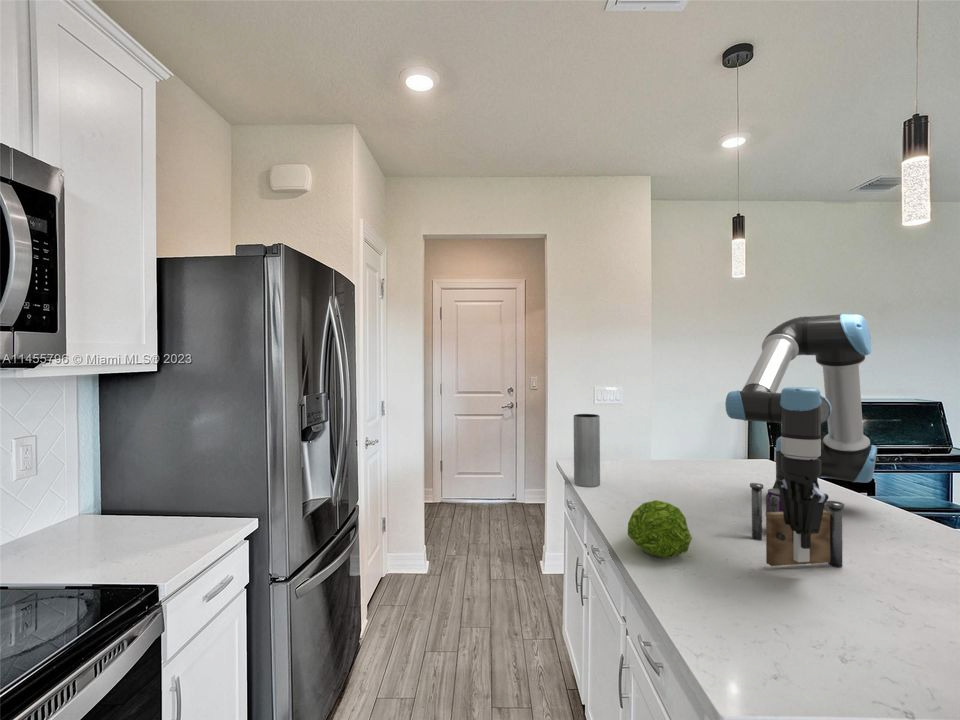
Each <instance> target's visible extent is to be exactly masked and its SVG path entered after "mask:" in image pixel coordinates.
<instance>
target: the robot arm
mask: <svg viewBox="0 0 960 720" xmlns="http://www.w3.org/2000/svg"><path fill="white" fill-rule="evenodd" d="M871 338H872V337H871V333H870V329H869V325H868V322H867V320H866V318H865V317H864V316H862V315H860V314H846V313H841V314H828V315H826V314H825V315H813V316H798V317H794V318H791V319H789V320H786V321H785V322H782V323H781V324H779V325H778V326H776V327H775V328H773V329H772V330H771V331H769V333H768V334H767V335H766V336H765V337H764V339H763V341H762V343H761V352H760V353H761V354H760V355H759V357H758V360H757V361H756V363H755V365H754V366H753V368H752V370H751V372H750V374H749V376H748V378H747V380H746V382H745V384H744V386H743V388H742V389H741V390H733V391H732V390H731V391H729V392H728V393H727V394H726V397H725V412H726V415H727V417H729V418H730V419H733V420H740V421H744V422H746V421H748V422H749V421H751V422H765V423H778V424H780V432H781V434H780V436H779V437H778V438H777V439H776V442H775V449H774V451H775V481H774V483H773V484H774V485H773V487H772V488H777V489H779V491H780V496H781V502H782V508H783V514H784V520H785V523H786V524H789V525H790V527H791V529H792V536H793V537H792V541H793V543H794V560H795V561H797V562H810V548H811V534H818V533H819V530H820V525H821V520H822V515H823V510H825V506H826V501H829V495H828V494H827V493H823V492H822V491H821V490H820V485H819V482H818V477H819V478H827V479H833V480H834V479H835V480H841V481H849V482H852V483H865V484H866V483H870V482H871V481H872V480H873V477H874V474H875V473H874V472H875V467H876V460H877V454H878V446H876V445H874V444H871V439H870V438H869V437H868V436H866V435H865V434H864V424H863V412H862V411H863V410H862V395H861V381H860V379H861V378H860V365H861V364H862V363H863V362H865V361H866V356H868V355H870V354H871V353H872V339H871ZM797 356H815V361H816V364H818V365H820V366H821V367H822V373H823V375H822V376H823V384H824V385H823V386H824V394H825V395H821V391H820V390H819V389H818V388H815V387H801V386H800V387H799V386H798V387H797V386H795V387H793V386H792V387H790V386H789V387H784V388H783V389H782V390H781V392H777V391H778V389H779V387H780V384H781V382H782V380H783V378H784V376H785V374H786V371H787V369H788V366H789V364H790V362H791V361H793V360H794V359H795V358H797ZM826 422H827V431H828V434H826V435H825V436H824V437H823V440H822V439H821V438H822V435H821V432H822V431H821V429H822V425H821V424H824V423H826Z"/></svg>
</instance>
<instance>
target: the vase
mask: <svg viewBox="0 0 960 720" xmlns="http://www.w3.org/2000/svg"><path fill="white" fill-rule="evenodd" d="M600 420H601V418H600V415H599V414H593V413H576V414H574V415H573V483H574V485H575V486H577V487H584V488H596V487H598V486H600V485H601V453H600V452H601V440H600V439H601V435H600V434H601V430H600V427H601V421H600Z"/></svg>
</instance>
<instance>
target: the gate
mask: <svg viewBox="0 0 960 720" xmlns="http://www.w3.org/2000/svg"><path fill="white" fill-rule="evenodd" d="M765 535H766V536H765V538H766V539H765V547H766V548H765V549H766V550H765V552H766V555H765V558H766V559H765V560H766V561H765V564H767V565H768V566H770V567H776V566H777V567H778V566H780V567H781V566H793V565H794V566H799V565H812V564H828V563H830V512H829V511H828V510H826V509H824V510H823V515H822V520H821V525H820V530H819V533H818V534H811V548H810V562H797V561H795V560H794V543H793V541H792V537H793V536H792V529H791V527H790V525H789V524H786V523H785V520H784V514H783V512H766V511H765Z"/></svg>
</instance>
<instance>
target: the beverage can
mask: <svg viewBox="0 0 960 720" xmlns="http://www.w3.org/2000/svg"><path fill="white" fill-rule="evenodd" d="M765 508H766V509H765V513H766V512H783V508H782V502H781V496H780V491H779V489H777V488H773V487H772V488H769V489H767V493H766V494H765Z"/></svg>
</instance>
